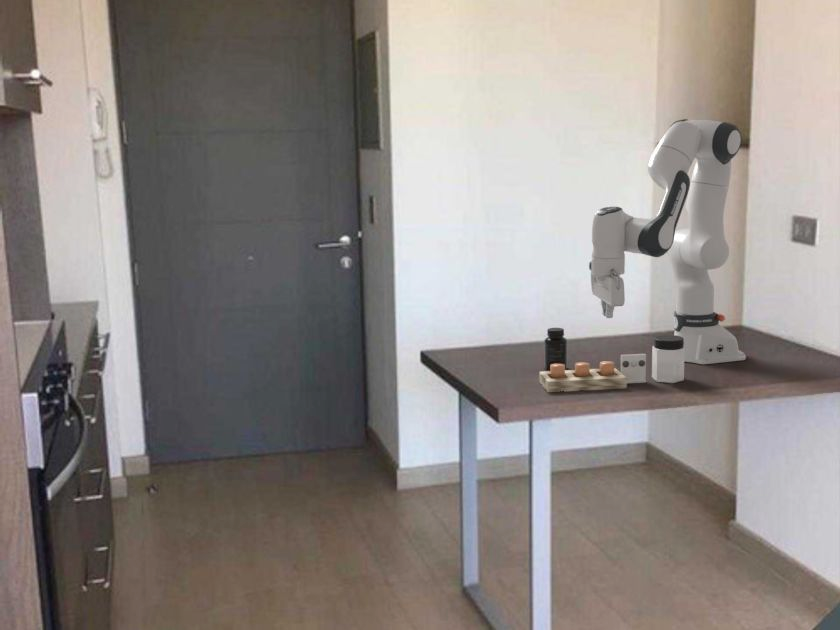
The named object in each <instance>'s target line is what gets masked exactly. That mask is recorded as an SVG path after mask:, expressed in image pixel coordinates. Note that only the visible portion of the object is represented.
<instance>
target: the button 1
mask: <svg viewBox="0 0 840 630" xmlns="http://www.w3.org/2000/svg"><path fill="white" fill-rule="evenodd" d="M565 370H566V369H565V365H564V364H551V365H550V370H549V371H550V376H551V377H554V378H561V377H565Z"/></svg>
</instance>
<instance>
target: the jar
mask: <svg viewBox="0 0 840 630" xmlns="http://www.w3.org/2000/svg"><path fill="white" fill-rule="evenodd" d="M683 345H684V339H683V337H680V336H676V335H674V334H660V335H656V336H654V337H653V345H652V350H651V351H652V353H651V378H652V379H653V380H655V382H656V383H668V384H675V383H678V382H683V381H684V380H685V361H684V358H685V348H683Z"/></svg>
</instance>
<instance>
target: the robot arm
mask: <svg viewBox="0 0 840 630" xmlns="http://www.w3.org/2000/svg"><path fill="white" fill-rule="evenodd" d="M741 144H742V134H741V131H740V129H739V127H738V126H737V125H735V124H733V123H730V122H727V121H723V122H722V121H717V120H711V119H687V118H685V119H678V120H675V121H674V122H672V124H671V125H670V126H669V127H668V129H667V130H666V132H665V133H664V135H663V136H662V137H661V138H660V140H659V142H658V144H656V147H655V149H654V150H653V153H652V154H651V156H650V158H649V160H648V164H647V171H648V174H649V176H650V179H651V180H652V181H653V182H654V184H656V185H657V186H658V187H660V188H661V189H663V190H665V193H664V196H663V199H662V202H661V205H660V207H659V210H658V213H657V215H655V216H654V217H652V218H641V217H634V216H632V215H630V214H628V213H626V212H625V211H624V210H623V208H621V207H619V206H607V207H602V208H599V209H598V210H596V212H595V213H594V216H593V220H592V224H591V225H592V228H591V242H592V245H593V246H592V247H593V249H592V250H593V251H592V254H591V261H590V262H589V263H588V269H589V271H590V284H591V285H590V286H591V287H590V288H591V292H592V295H594V296H595V297H597V298H598V299H600V303H601V304H600V305H601V309H602V316H604V317H605V318H606V319H612V318H613V317H614V310H615V307H623V306H624V305H625V300H626V299H625V298H626V297H625V282H624V279H623V278H622V277H621V275H625V265H626V262H625V259H626V257H625V256H626V255H625V252H626V253H627V252H628V253H633V254H639V255H645V256H648V257H653V258H660V257H663V256H664V255H666V253H667V254H668V257H669V259H670V262H671V266H672V272H673V277H674V281H675V282H674V283H675V290H676V291H675V311H674V314H673V330H674V334H673V335H676V336H680V337H683V339H684V345H683V348H685V358H684V363H685V362H686V363H694V364H699V365H709V364H712V365H713V364H719V363H730V362H738V361H739V362H740V361H745V360H746V359H747V355H746V354H745V353H744V352H743V351H741V350H739V343H738V340H737V337H736V336H735V335H734V334H733V333H731V332H730V331H729V330H727V329H726V328H725V327H724V326H723V325H721V324H720V322H721V323H723V322H725V320H726V317H725V315H723V314H721V313H717V312H715V311H714V308H715V307H714V305H715V304H714V303H715V287H714V284H713V282H712V281H711V278H710V276H709V272H708V270H716V269H720V268H721V267H722V266H724V265H725V264H726V263H727V261H728V260H729V256H730V247H729V244H728V242H727V241H726V237H725V229H724V228H725V227H724V214H725V207H726V201H727V196H728V192H729V191H728V190H729V187H730V186H729V185H730V181H731V172H732V171H731V170H732V159H733V158H734V157H736V155H737V154H738V152H739V150H740V148H741V146H742V145H741ZM695 159H696V162H695V164H694V168H693V171H692V175H691V178H690V176H689V171H690V168H691V167H692V165H693V162H694V160H695ZM684 206H685V210H686V212H687V215H688V221H689V222H688V224H689V225H688V228H687V227H686V228H681V229H676V228H677V225H678V223H679V220H680V217H681V214H682V212H683V209H684Z"/></svg>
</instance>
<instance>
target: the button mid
mask: <svg viewBox="0 0 840 630" xmlns="http://www.w3.org/2000/svg"><path fill="white" fill-rule="evenodd" d="M590 369H591V365H590V363H588V362H584V361H581V362H575V363H574V370H575V375H576V376H589V375H590Z"/></svg>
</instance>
